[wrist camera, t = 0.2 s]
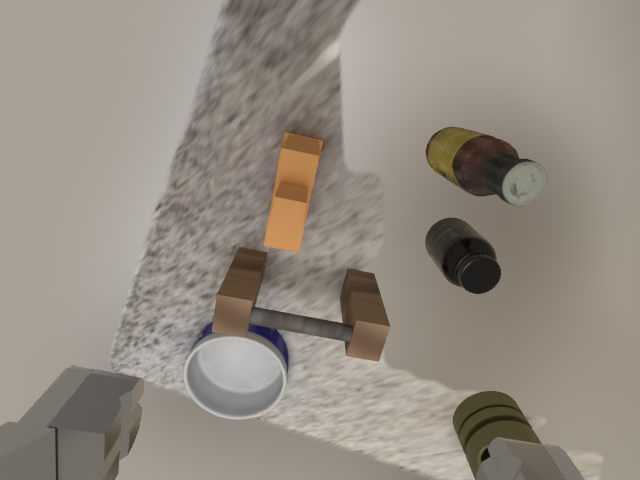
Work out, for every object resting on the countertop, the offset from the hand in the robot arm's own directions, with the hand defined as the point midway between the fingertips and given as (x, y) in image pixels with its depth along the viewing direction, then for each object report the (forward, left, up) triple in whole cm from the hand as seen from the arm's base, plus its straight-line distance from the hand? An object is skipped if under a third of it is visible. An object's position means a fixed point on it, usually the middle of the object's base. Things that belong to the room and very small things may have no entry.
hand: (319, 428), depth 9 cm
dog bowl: (+35, -5, -47) cm, 59 cm away
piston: (+39, +38, -47) cm, 72 cm away
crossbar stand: (+19, +2, -47) cm, 50 cm away
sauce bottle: (-3, +17, -47) cm, 50 cm away
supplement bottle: (+9, +21, -47) cm, 52 cm away
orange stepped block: (+5, -2, -47) cm, 47 cm away
